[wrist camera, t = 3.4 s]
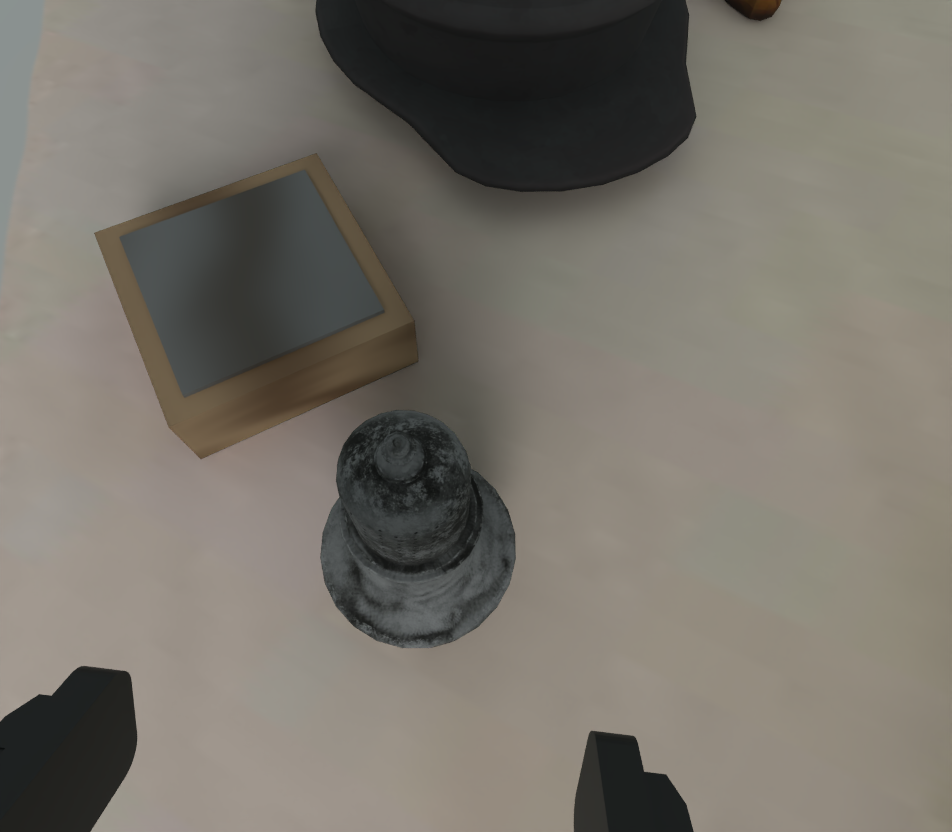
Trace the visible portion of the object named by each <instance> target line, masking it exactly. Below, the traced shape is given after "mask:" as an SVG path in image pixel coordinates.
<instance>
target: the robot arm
mask: <svg viewBox="0 0 952 832" xmlns="http://www.w3.org/2000/svg"><path fill="white" fill-rule="evenodd" d="M136 746H137V729H136V719H135V710H134V700H133V691H132V682H131V677H130V674H129V673H128V672H126V671H120V670H112V669H104V668H96V667H88V666H81V667H79V668H77V669H76V670H74V671H73V672H72V673H71V674H70V676H69V677H68V678H67V679H66V680H65V681H64V682H63V683H62V685H61V686H60V687H59V688H58V689H57V690H56V691H55V693H54V694H53V695H52V696H49V695H41V694H39V695H38V696H36V697H35V698H33V699H31V700H30V701H28V702H27V703H25V704H24V705H22V706H21V707H19V708H18V709H16V710H15V711H13V712H11V713H10V714H8V715H7V716H5V717H4V718H3V719H2V720H1V722H0V832H90V831H91V830H92V828H93V827H94V825H95V823H96V822H97V820H98V819H99V817H100V816H101V814H102V812H103V811H104V809H105V808H106V806H107V805H108V803H109V802H110V800H111V798H112V797H113V795H114V794H115V792H116V791H117V789H118V788H119V786H120V784H121V783H122V781H123V780H124V778H125V776H126V775H127V773H128V771H129V769H130V766H131V764H132V761H133V758H134V755H135V751H136ZM574 832H694V831H693V828H692V824H691V820H690V816H689V813H688V809H687V805H686V803H685V802H684V800H683V799H682V797H681V796H680V794H679V793H678V791H677V790H676V788H675V787H674V785H673V784H672V783H671V781H670V780H669V778H668V777H667V775H665V774H657V773H649V772H644V770H643V765H642V760H641V756H640V751H639V746H638V742H637V740H636V738H635V737H634V736H630V735H622V734H614V733H606V732H598V731H591V732H590V733H589V736H588V740H587V745H586V750H585V754H584V759H583V764H582V768H581V773H580V777H579V782H578V787H577V791H576V797H575V806H574Z"/></svg>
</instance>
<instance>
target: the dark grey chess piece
mask: <svg viewBox="0 0 952 832" xmlns="http://www.w3.org/2000/svg"><path fill="white" fill-rule="evenodd" d="M336 482H337V487H338V492H339V499H338V500H337V502H336V503H335V505H334V506H333V507H332V509H331V512H330V514H329V517H328V520H327V523H326V525H325V528H324V531H323V536H322V547H321V557H320V558H321V564H322V570H323V575H324V581H325V584H326V587H327V589H328V591H329V593H330V595H331V597H332V599H333V601H334V603H335V605H336V607H337V608H338V609H339V610H340V611H341V613H342V614H343V615H344V616H345V617H346V618H347V619H348V620H349V622H350V623H351V624H352V625H353V626H354V627H356V628H357V629H359V630H360V631H362V632H364V633H365V634H367V635H368V636H370V637H372V638H373V639H375V640H376V641H380V642H383V643H387V644H390V645H394V646H397V647H401V648H432V647H435V646H439V645H443V644H446V643H450V642H452V641H455V640H457V639H459V638H460V637H462V636H464V635H465V634H467V633H469V632H470V631H472V630H474V629H475V628H477V627H478V626H479V625H480V624H481V623H482V622H483V621H484V620H485V619H486V618H487V617H488V616H489V615H490V614H491V613H492V612H493V611H494V610H495V609H496V608H497V606H498V604H499V602H500V601H501V599H502V597H503V595H504V593H505V591H506V590H507V588H508V586H509V584H510V580H511V576H512V572H513V567H514V563H515V559H516V555H515V532H514V529H513V525H512V522H511V519H510V515H509V512H508V509H507V508H506V506H505V504H504V503H503V501H502V500H501V498H500V496H499V495H498V493H497V491H496V490H495V489H494V488H493V487H492V486H491V485H490V484H489V483H488V482H487V481H486V480H485V479H484V478H483V477H482V476H481V475H480V474H479V473H477V472H476V471H474V470H472V469H471V466H470V463H469V460H468V456H467V453H466V450H465V449H464V447H463V446H462V444H461V442H460V441H459V439H458V438H457V436H456V434H455V433H454V432H453V431H452V430H450V429H449V428H448V427H447V426H446V425H445V424H444V423H443V422H441V421H439V420H437V419H436V418H434V417H432V416H430V415H428V414H424V413H420V412H416V411H407V410H395V411H391V412H386V413H381V414H379V415H377V416H375V417H373V418H371V419H368V420H366V421H365V422H364V423H362V424H361V425H360V426H359V427H358V428H356V429H355V430H354V431H353V432H352V434H351V435H350V436H349V438H348V439H347V441H346V442H345V443H344V445H343V448H342V451H341V453H340V456H339V459H338V464H337V476H336Z"/></svg>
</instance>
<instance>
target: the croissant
mask: <svg viewBox="0 0 952 832" xmlns="http://www.w3.org/2000/svg"><path fill="white" fill-rule="evenodd" d="M726 1H727V2H728V3H729V4H730V5H731V6H732V7H733V8H735V9H736V10H737V11H739V12H740V13H742V14H743V15H745V16H746V17H748V18H749V19H754V20H759V21H761V20H764V19H767V18H769V17H772V15H773V14H774V13H775V11H776V10H777V9H778V7H779V6H780V3H781V0H726Z"/></svg>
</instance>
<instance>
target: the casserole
mask: <svg viewBox="0 0 952 832" xmlns="http://www.w3.org/2000/svg"><path fill="white" fill-rule="evenodd" d="M316 16H317V21H318V26H319V31H320V36H321V38H322V40H323V42H324V44H325V46H326V48H327V50H328V52H329V54H330V55H331V57H332V59H333V61H334V62H335V63H336V64H337V66H338V67H339V68H340V69H341V70H342V71H343V72H344V73H345V75H346V76H347V77H348V78H349V79H350V80H351V81H352V82H353V84H355V85H356V86H357V87H359V88H360V89H362V90H363V91H364V92H366V93H367V94H368V95H370V96H371V97H373V98H374V99H375V100H377V101H378V102H379V103H381V104H382V105H384V106H385V107H386V108H388V109H389V110H391V111H392V112H393V113H395V114H396V115H398V116H399V117H400V118H402V119H403V120H405V121H406V122H407V123H409V124H410V125H411V126H412V127H413V128H414V129H415V130H416V131H417V132H418V133H419V134H420V136H421V137H422V138H423V139H424V140H425V141H426V142H427V143H428V144H429V145H430V146H431V147H432V148H433V149H434V150H435V151H436V152H437V153H438V154H439V155H440V156H441V157H442V159H443V160H444V161H445V162H446V163H447V164H448V165H449V166H450V167H451V168H452V169H453V170H454V171H455V172H456V173H458V174H460V175H462V176H464V177H467V178H469V179H471V180H473V181H476V182H478V183H480V184H482V185H484V186H488V187H495V188H501V189H507V190H514V191H520V192H534V191H566V190H572V189H579V188H585V187H591V186H598V185H603V184H606V183H609V182H612V181H615V180H618V179H620V178H623V177H626V176H629V175H632V174H635V173H638V172H640V171H642V170H644V169H645V168H647V167H649V166H651V165H653V164H654V163H656V162H658V161H660V160H662V159H663V158H665V157H667V156H669V155H670V154H671V153H672V152H673V151H674V150H675V149H676V148H677V147H678V146H679V145H681V144H682V143H683V142H684V141H685V140H686V139H687V138H688V136H689V134H690V131H691V129H692V126H693V124H694V121H695V119H696V112H695V107H694V102H693V97H692V92H691V87H690V82H689V77H688V72H687V67H686V54H687V39H688V22H689V13H688V9H687V5H686V1H685V0H317V1H316Z"/></svg>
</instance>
